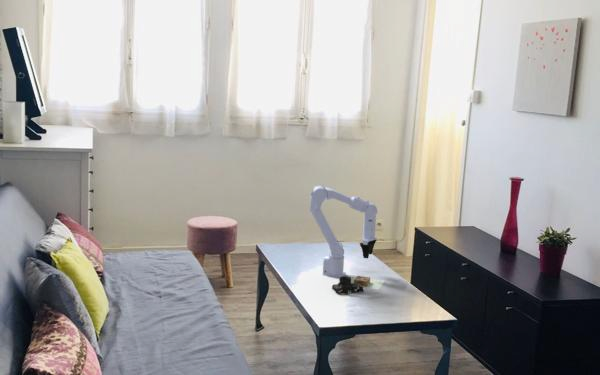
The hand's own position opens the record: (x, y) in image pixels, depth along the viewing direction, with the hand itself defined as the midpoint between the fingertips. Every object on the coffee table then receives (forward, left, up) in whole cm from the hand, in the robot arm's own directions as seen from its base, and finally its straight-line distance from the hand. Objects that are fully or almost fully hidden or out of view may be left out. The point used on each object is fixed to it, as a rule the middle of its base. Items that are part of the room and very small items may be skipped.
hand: (367, 256), depth 302 cm
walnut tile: (+1, -10, -8) cm, 13 cm away
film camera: (-3, -26, -10) cm, 28 cm away
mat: (+1, -12, -10) cm, 16 cm away
